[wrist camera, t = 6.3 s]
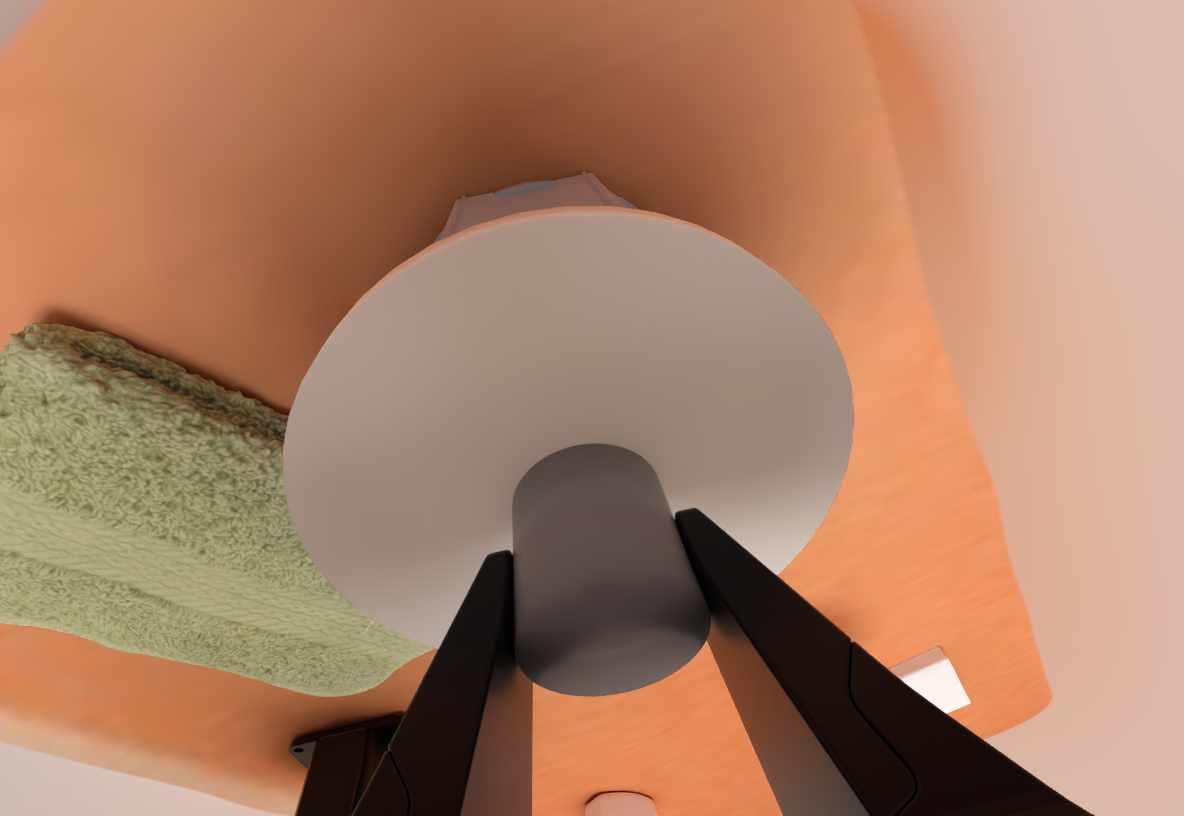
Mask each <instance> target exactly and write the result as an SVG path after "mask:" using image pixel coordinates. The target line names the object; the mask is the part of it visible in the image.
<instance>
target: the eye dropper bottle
mask: <svg viewBox="0 0 1184 816" xmlns="http://www.w3.org/2000/svg"><path fill="white" fill-rule="evenodd" d="M585 816H657V813H656V809H655V805H654V803H653V801H652V800H651V799H650V798H648V797H646V796H643V795H640V794H635V793H628V792H612V793H604V794H600V795H599V796H597V797H596V798H594V799H593V800H592V801H591V802H590V803H588V804H587V806H586V808H585Z"/></svg>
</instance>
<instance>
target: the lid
mask: <svg viewBox="0 0 1184 816" xmlns="http://www.w3.org/2000/svg"><path fill="white" fill-rule="evenodd" d="M853 426H854V407H853V397H852V387H851V383H850V379H849V376H848V372H847V368H846V365H845V361H844V358H843V355H842V353H841V351H840V349H839V347H838V345H837V343H836V341H835V339H834V337H833V335H832V333H831V331H830V329H829V327H828V326H827V324H826V323H825V322H824V320H823V319H822V318H821V316H820V315H819V314H818V312H817V311H816V309H815V308H814V307H813V305H812V304H811V303H810V301H809V300H808V299H807V298H806V297H805V296H803V295H802V294H801V293H800V292H799V291H798V290H797V289H796V288H795V287H794V286H793V285H792V284H791V283H790V282H789V281H788V280H787V279H786V278H785V277H784V276H782V275H781V274H779V273H778V272H777V271H775V270H774V269H772V268H771V267H770V266H768V265H767V264H765V263H764V262H762V261H761V260H759V259H758V258H756V257H755V256H754V255H752V254H751V253H749V252H748V251H746V250H745V249H743V248H742V247H740V246H739V245H737V244H736V243H734V242H733V241H731V240H729V239H727V238H725V237H723V236H721V235H718V234H716V233H714V232H712V231H710V230H708V229H705V228H703V227H701V226H699V225H697V224H694V223H691V222H687V221H684V220H681V219H677V218H674V217H670V216H667V215H663V214H660V213H657V212H651V211H644V210H637V209H630V208H622V207H615V206H562V207H555V208H548V209H541V210H534V211H527V212H520V213H516V214H512V215H509V216H505V217H502V218H498V219H495V220H492V221H488V222H485V223H481V224H478V225H474V226H472V227H470V228H467V229H465V230H463V231H461V232H458V233H456V234H454V235H452V236H449V237H447V238H445V239H443V240H440V241H438V242H436V243H434V244H431V245H430V246H428V247H427V248H425V249H424V250H422V251H420V252H419V253H417V254H416V255H414V256H413V257H411V258H409V259H408V260H406V261H405V262H403V263H401V264H400V265H398V266H397V267H395V268H394V269H392V270H391V271H390V272H389V273H388V274H387V275H386V276H384V277H383V278H382V279H381V280H380V281H379V282H377V283H376V284H375V285H374V286H373V287H372V288H371V289H369V290H368V291H367V292H366V293H365V294H364V295H362V296H361V298H360V299H359V300H358V301H357V302H356V304H355V305H354V306H353V307H352V308H351V310H350V311H349V312H348V313H347V314H346V315H345V317H344V318H343V319H342V320H341V321H340V323H339V324H338V325H337V326H336V327H335V329H334V330H333V332H332V333H331V335H330V336H329V338H328V339H327V341H326V342H325V344H324V345H323V346H322V348H321V350H320V351H319V353H318V355H317V356H316V358H315V360H314V361H313V363H312V365H311V367H310V368H309V370H308V372H307V373H306V375H305V377H304V378H303V380H302V382H301V384H300V387H299V390H298V392H297V395H296V398H295V400H294V403H293V406H292V409H291V411H290V414H289V417H288V422H287V428H286V434H285V440H284V445H283V485H284V490H285V495H286V500H287V504H288V509H289V514H290V516H291V519H292V521H293V524H294V526H295V529H296V531H297V534H298V536H299V539H300V541H301V543H302V544H303V546H304V548H305V549H306V551H307V553H308V554H309V556H310V557H311V559H312V561H313V562H314V564H315V566H316V567H317V568H318V569H319V571H320V572H321V573H322V574H323V575H324V576H325V578H326V579H327V580H328V581H329V582H330V583H331V585H332V586H333V587H334V588H335V589H336V590H337V591H338V592H339V593H340V594H342V595H343V596H344V597H345V598H346V599H347V600H348V601H349V602H351V603H352V604H353V605H354V606H355V607H356V608H358V609H359V610H361V611H362V612H364V613H365V614H366V615H368V616H369V617H371V618H372V619H374V620H375V621H377V622H378V623H380V624H382V625H383V626H385V627H387V628H389V629H391V630H393V631H395V632H397V633H399V634H401V635H402V636H404V637H407V638H409V639H412V640H414V641H417V642H419V643H422V644H424V645H427V646H429V647H432V648H435V649H439V647H440V645H441V643H442V641H443V639H444V637H445V635H446V633H447V631H448V629H449V628H450V626H451V624H452V622H453V620H454V618H455V616H456V614H457V612H458V610H459V608H460V606H461V604H462V602H463V600H464V598H465V596H466V595H467V593H468V591H469V589H470V587H471V585H472V583H473V581H474V579H475V577H476V575H477V573H478V571H479V569H480V567H481V565H482V563H483V562H484V560H485V558H486V556H487V555H488V554H490V553H493V552H498V551H502V550H510V551H511V552H512V554H513V589H514V647H515V658H516V661H517V664H518V666H519V667H520V669H521V671H522V672H523V673H524V674H525V675H526V676H527V677H528V678H529V679H530V680H531V681H533V682H534V683H536V684H538V685H539V686H541V687H543V688H546V689H548V690H551V691H554V692H558V693H561V694H567V695H574V696H606V695H614V694H619V693H624V692H629V691H632V690H636V689H640V688H642V687H645V686H648V685H651V684H653V683H655V682H658V681H660V680H662V679H664V678H666V677H668V676H669V675H671V674H673V673H674V672H676V671H677V670H679V669H680V668H682V667H683V666H684V665H686V664H687V663H688V662H689V661H690V660H691V659H692V658H693V657H694V656H695V655H696V654H697V653H698V652H699V651H700V649H701V648H702V647H703V645H704V643H705V642H706V640H707V637H708V635H709V632H710V628H711V614H710V610H709V607H708V605H707V602H706V600H705V597H704V595H703V592H702V589H701V587H700V584H699V582H698V579H697V577H696V574H695V571H694V569H693V566H692V564H691V561H690V558H689V556H688V553H687V551H686V548H685V546H684V543H683V540H682V538H681V535H680V533H679V530H678V527H677V525H676V522H675V518H674V516H675V513H676V512H677V511H681V510H685V509H690V508H697V509H699V510H700V511H701V512H703V513H704V514H705V515H706V516H707V517H708V518H710V519H711V520H712V521H713V522H714V523H716V524H717V525H718V526H719V527H720V528H721V529H723V530H724V531H725V532H726V533H727V534H728V535H730V536H731V537H732V538H733V539H734V540H736V541H737V542H738V543H739V544H740V545H741V546H743V547H744V548H745V549H746V550H747V551H749V552H750V553H751V554H752V555H753V556H754V557H756V558H757V559H758V560H759V561H760V562H762V563H763V564H764V565H765V566H766V567H767V568H769V569H770V570H771V571H772V572H773V573H775V574H776V575H778V574H779V573H780V572H781V571H782V570H783V569H784V568H785V567H786V566H787V565H788V564H789V563H790V562H791V561H792V560H793V559H794V558H795V557H796V556H797V554H798V553H799V552H800V551H801V550H802V549H803V547H804V546H805V545H806V544H807V543H808V542H809V540H810V539H811V537H812V536H813V534H814V533H815V532H816V530H817V529H818V527H819V526H820V524H821V523H822V522H823V520H824V518H825V516H826V515H827V513H828V511H829V509H830V507H831V505H832V503H833V501H834V500H835V498H836V496H837V493H838V491H839V488H840V485H841V483H842V480H843V477H844V475H845V472H846V469H847V465H848V460H849V456H850V451H851V447H852V441H853Z"/></svg>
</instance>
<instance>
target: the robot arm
mask: <svg viewBox="0 0 1184 816" xmlns="http://www.w3.org/2000/svg"><path fill="white" fill-rule="evenodd" d="M674 518H675V522H676V525H677V527H678V530H679V533H680V535H681V538H682V540H683V543H684V546H685V548H686V551H687V553H688V556H689V558H690V561H691V564H692V566H693V569H694V571H695V574H696V577H697V579H698V582H699V584H700V587H701V589H702V592H703V595H704V597H705V600H706V602H707V605H708V607H709V610H710V614H711V628H710V632H709V635H708V637H707V641H708V644H709V646H710V649H711V651H712V653H713V656H714V658H715V660H716V662H717V665H718V667H719V669H720V672H721V674H722V676H723V678H724V681H725V683H726V685H727V688H728V690H729V692H730V694H731V697H732V699H733V701H734V704H735V706H736V708H737V711H738V713H739V715H740V717H741V720H742V722H743V724H744V727H745V729H746V731H747V733H748V736H749V738H750V740H751V743H752V745H753V747H754V749H755V752H756V754H757V756H758V759H759V761H760V763H761V766H762V768H763V770H764V772H765V775H766V777H767V779H768V782H769V784H770V786H771V788H772V791H773V793H774V795H775V798H776V800H777V802H778V804H779V807H780V809H781V811H782V814H783V816H1095V815H1093V814H1091V813H1089V812H1087V811H1086V810H1084V809H1083V808H1081V807H1079V806H1078V805H1076V804H1074V803H1073V802H1071V801H1069V800H1068V799H1066V798H1065V797H1064V796H1062V795H1061V794H1059V793H1058V792H1056V791H1055V790H1053V789H1052V788H1050V787H1049V786H1048V785H1046V784H1045V783H1043V782H1042V781H1040V780H1039V779H1038V778H1036V777H1035V776H1033V775H1032V774H1031V773H1029V772H1028V771H1026V770H1025V769H1023V768H1022V767H1021V766H1019V765H1018V764H1017V763H1015V762H1013V761H1012V760H1011V759H1009V758H1008V757H1006V756H1005V755H1004V754H1002V753H1001V752H999V751H998V750H997V749H995V748H994V747H993V746H991V745H990V744H988V743H987V742H986V741H984V740H983V739H981V738H980V737H978V736H977V735H976V734H974V733H973V732H971V731H970V730H969V729H967V728H966V727H964V726H963V725H962V724H960V723H959V722H957V721H956V720H955V719H953V718H952V717H950V716H949V715H948V714H946V713H945V712H943V711H942V710H941V709H939V708H938V707H937V706H935V705H934V704H933V703H931V702H930V701H928V700H927V699H926V698H924V697H923V696H922V695H920V694H919V693H918V692H916V691H915V690H914V689H912V688H911V687H910V686H908V685H907V684H906V683H905V682H903V681H902V680H901V679H900V678H898V677H897V676H896V675H895V674H893V673H892V672H891V671H890V670H888V669H887V668H886V667H885V666H883V665H882V664H881V663H880V662H879V661H877V660H876V659H875V658H874V657H873V656H871V655H870V654H869V653H868V652H867V651H866V650H864V649H863V648H862V647H861V646H860V645H859V644H857V643H856V642H852V643H851V638H850V637H849V636H848V635H846V634H845V633H844V632H843V631H842V630H841V629H839V628H838V627H837V626H836V625H835V624H834V623H832V622H831V621H830V620H829V619H828V618H826V617H825V616H824V615H823V614H822V613H821V612H819V611H818V610H817V609H816V608H815V607H813V606H812V605H811V604H810V603H809V602H808V601H806V600H805V599H804V598H803V597H802V596H800V595H799V594H798V593H797V592H796V591H795V590H793V589H792V588H791V587H790V586H789V585H787V584H786V583H785V582H784V581H783V580H782V579H780V578H779V577H778V576H777V575H776V574H775V573H773V572H772V571H771V570H770V569H769V568H767V567H766V566H765V565H764V564H763V563H762V562H760V561H759V560H758V559H757V558H756V557H754V556H753V555H752V554H751V553H750V552H749V551H747V550H746V549H745V548H744V547H743V546H741V545H740V544H739V543H738V542H737V541H736V540H734V539H733V538H732V537H731V536H730V535H728V534H727V533H726V532H725V531H724V530H723V529H721V528H720V527H719V526H718V525H717V524H716V523H714V522H713V521H712V520H711V519H710V518H708V517H707V516H706V515H705V514H704V513H703V512H701V511H700V510H699V509H697V508H690V509H685V510H681V511H677V512H676V513H675V516H674ZM532 706H533V681H531V680H530V679H529V678H528V677H527V676H526V675H525V674H524V673H523V672H522V671H521V669H520V667H519V666H518V664H517V661H516V658H515V647H514V589H513V554H512V552H511V551H510V550H502V551H498V552H493V553H490V554H488V555H487V556H486V558H485V560H484V562H483V563H482V565H481V567H480V569H479V571H478V573H477V575H476V577H475V579H474V581H473V583H472V585H471V587H470V589H469V591H468V593H467V595H466V596H465V598H464V600H463V602H462V604H461V606H460V608H459V610H458V612H457V614H456V616H455V618H454V620H453V622H452V624H451V626H450V628H449V629H448V631H447V633H446V635H445V637H444V639H443V641H442V643H441V645H440V647H439V649H438V651H437V653H436V655H435V657H434V659H433V661H432V662H431V664H430V666H429V668H428V670H427V672H426V674H425V676H424V678H423V680H422V682H421V684H420V686H419V688H418V690H417V692H416V694H415V696H414V697H413V699H412V701H411V703H410V705H409V707H408V709H407V711H406V713H405V715H404V716H403V715H396V716H392V717H387V718H383V719H379V720H374V721H370V722H366V723H361V724H357V725H353V726H348V727H344V728H340V729H335V730H331V731H327V732H322V733H318V734H314V735H309V736H305V737H300V738H296V739H294V740H292V742H291V745H290V748H289V752H290V753H291V754H292V755H293V756H294V757H295V758H296V759H298V760H299V761H300V762H301V763H302V764H303V765H304V766H305V767H307V768H308V770H307V774H306V777H305V781H304V784H303V788H302V791H301V795H300V798H299V802H298V805H297V809H296V812H295V816H532Z"/></svg>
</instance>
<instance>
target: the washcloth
mask: <svg viewBox="0 0 1184 816" xmlns="http://www.w3.org/2000/svg"><path fill="white" fill-rule="evenodd" d="M9 338H10V339H9V343H8V345H7V346H6V347H4V350H3V352H2V355H1V356H0V623H7V624H13V625H18V626H35V627H40V628H46V629H53V630H56V631H59V632H67V633H70V634H72V635H75V636H79V637H82V638H85V639H88V640H91V641H94V642H97V643H99V644H101V645H103V646H105V647H109V648H113V649H116V650H120V651H124V652H130V653H138V654H146V655H151V656H154V657H156V658H165V659H169V660H174V661H178V662H182V663H189V664H195V665H200V666H204V667H209V668H214V669H218V670H221V671H228V672H231V673H235V674H238V675H241V676H244V677H248V678H251V679H256V680H260V681H262V682H265V683H268V684H271V685H274V686H277V687H282V688H285V689H288V690H291V691H296V692H300V693H304V694H308V695H314V696H320V697H337V696H346V695H353V694H358V693H362V692H365V691H367V690H370V689H372V688H374V687H376V686H377V685H379V684H381V683H382V682H383V681H385V680H386V679H387V678H388V677H389V676H390V675H391V674H392V673H393V672H394V671H396V670H397V669H398V668H400V667H401V666H402V665H404V664H406V663H407V662H410V660H412V659H414V658H416V657H419V656H421V655H423V654H425V653H427V652H429V651H431V650H433V649H435V648H432V647H429V646H427V645H424V644H422V643H419V642H417V641H414V640H412V639H409V638H407V637H404V636H402V635H401V634H399V633H397V632H395V631H393V630H391V629H389V628H387V627H385V626H383V625H382V624H380V623H378V622H377V621H375V620H374V619H372V618H371V617H369V616H368V615H366V614H365V613H364V612H362V611H361V610H359V609H358V608H356V607H355V606H354V605H353V604H352V603H351V602H349V601H348V600H347V599H346V598H345V597H344V596H343V595H342V594H340V593H339V592H338V591H337V590H336V589H335V588H334V587H333V586H332V585H331V583H330V582H329V581H328V580H327V579H326V578H325V576H324V575H323V574H322V573H321V572H320V571H319V569H318V568H317V567H316V566H315V564H314V562H313V561H312V559H311V557H310V556H309V554H308V553H307V551H306V549H305V548H304V546H303V544H302V543H301V541H300V539H299V536H298V534H297V531H296V529H295V526H294V524H293V521H292V519H291V516H290V514H289V509H288V504H287V500H286V495H285V490H284V485H283V445H284V440H285V434H286V428H287V422H288V417H289V416H288V415H284V414H283V415H282V414H280V413H277V412H275V411H274V410H273V409H272V408H270V407H267V406H264V405H262V404H261V401H258V400H257V399H256V398H253V399H250V398H246V397H244V396H243V395H242V393H241V392H240V391H237V392H235V391H232V390H225V389H224V388H223V387H222V386H219V385H216V384H215V383H214V382H213V381H210V380H205V379H203V378H202V377H201V376H200V375H197V374H189V373H187V372H186V370H185V369H184V368H183V367H182V366H181V365H178V364H176V363H174V362H173V361H168V360H166V359H165V358H158V357H156V356H154V355H151V354H147V353H145V352H143V351H140V350H138V349H135V348H134V347H133V346H132V344H131V343H129V342H127V341H125V340H124V339H121V338H118V337H115V336H113V335H112V334H110V333H106V332H103V331H96V332H91V331H86V330H83V329H78V328H75V327H73V326H64V325H60V324H45V323H34V324H31V325H28V326H25V330H24V331H22V332H19V333H17V334H13V333H10V334H9Z"/></svg>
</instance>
